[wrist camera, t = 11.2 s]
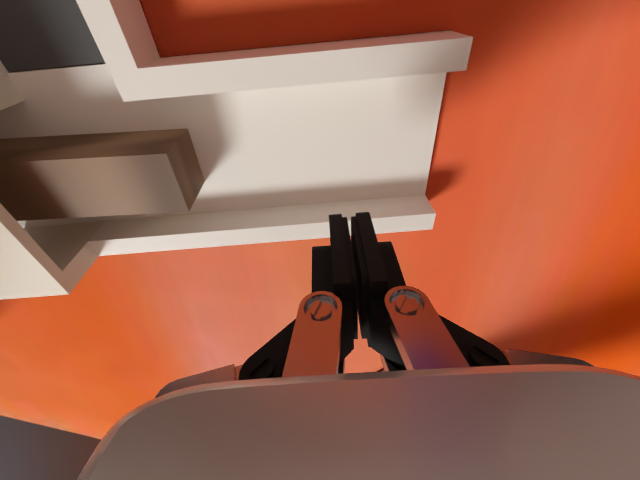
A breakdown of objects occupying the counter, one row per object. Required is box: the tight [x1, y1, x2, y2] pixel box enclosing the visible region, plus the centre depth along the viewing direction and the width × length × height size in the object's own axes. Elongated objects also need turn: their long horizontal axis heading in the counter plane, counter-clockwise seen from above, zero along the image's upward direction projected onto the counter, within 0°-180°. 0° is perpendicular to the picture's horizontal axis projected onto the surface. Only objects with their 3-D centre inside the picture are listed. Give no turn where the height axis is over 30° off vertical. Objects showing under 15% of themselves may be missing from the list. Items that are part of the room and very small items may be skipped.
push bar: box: [0, 128, 205, 221], centre depth 16 cm, size 14×3×3 cm, turn 92°
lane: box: [0, 0, 473, 300], centre depth 14 cm, size 33×15×6 cm, turn 94°
